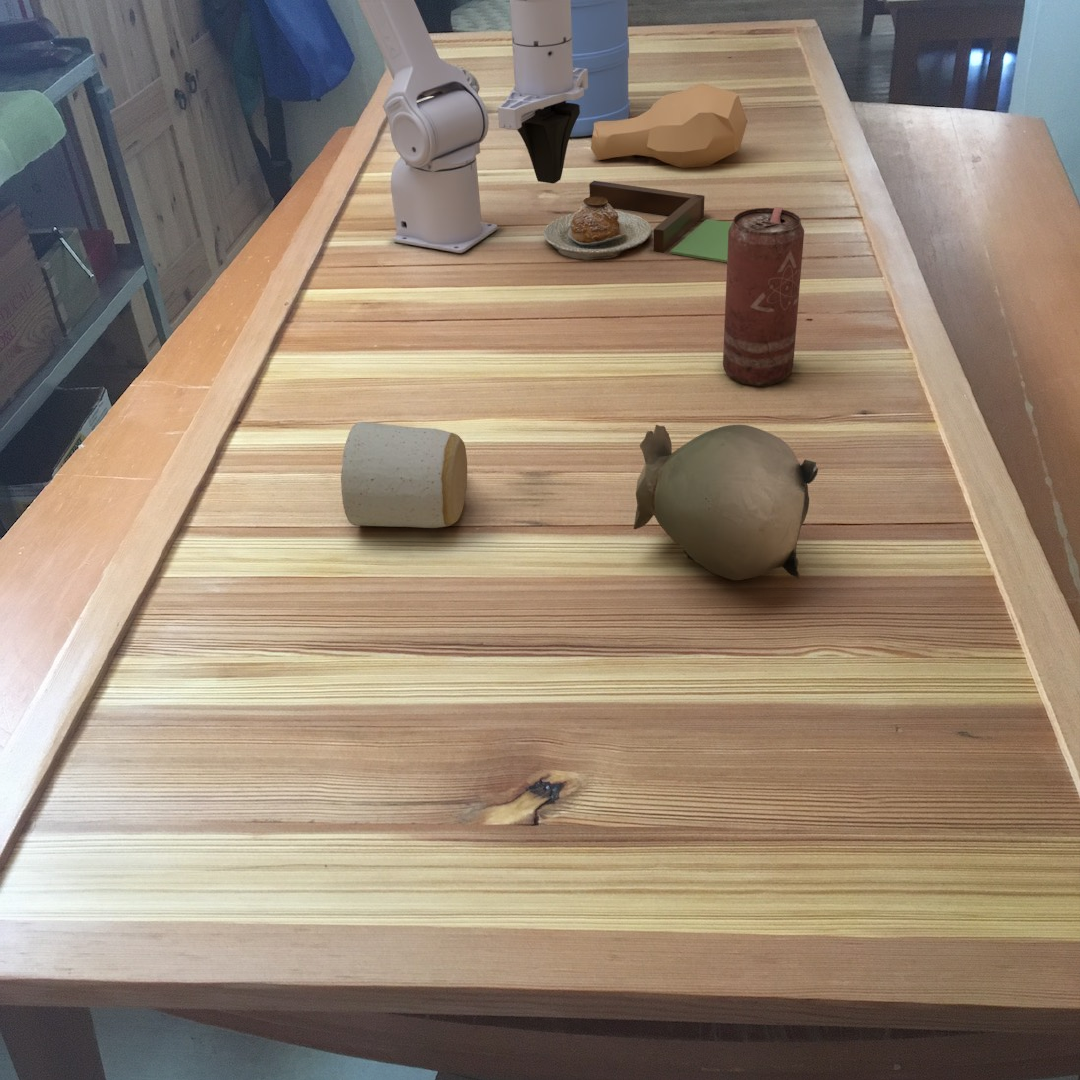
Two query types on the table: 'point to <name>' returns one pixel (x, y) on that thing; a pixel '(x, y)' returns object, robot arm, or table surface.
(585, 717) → the table surface
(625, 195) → the corner guide
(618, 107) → the water jug
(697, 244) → the green rag
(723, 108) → the squash
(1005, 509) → the table surface
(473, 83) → the frog figurine
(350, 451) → the ceramic mug
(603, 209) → the pastry
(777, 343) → the can
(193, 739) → the table surface
